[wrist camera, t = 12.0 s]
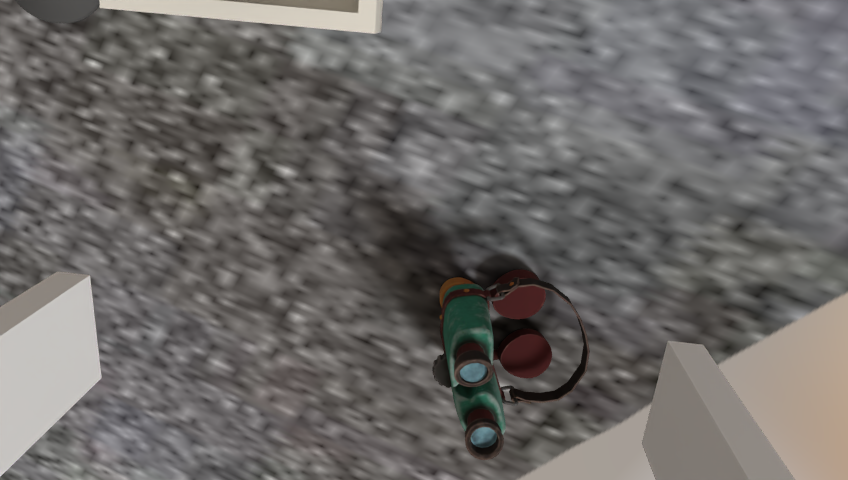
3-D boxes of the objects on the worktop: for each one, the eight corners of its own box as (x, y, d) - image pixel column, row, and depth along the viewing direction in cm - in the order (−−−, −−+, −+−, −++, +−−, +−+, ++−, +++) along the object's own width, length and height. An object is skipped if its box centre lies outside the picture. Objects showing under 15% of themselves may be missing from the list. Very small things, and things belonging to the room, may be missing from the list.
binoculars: (623, 457, 35) (447, 483, 35) (575, 360, 45) (439, 381, 45) (614, 315, 32) (422, 345, 32) (565, 245, 42) (419, 268, 42)
